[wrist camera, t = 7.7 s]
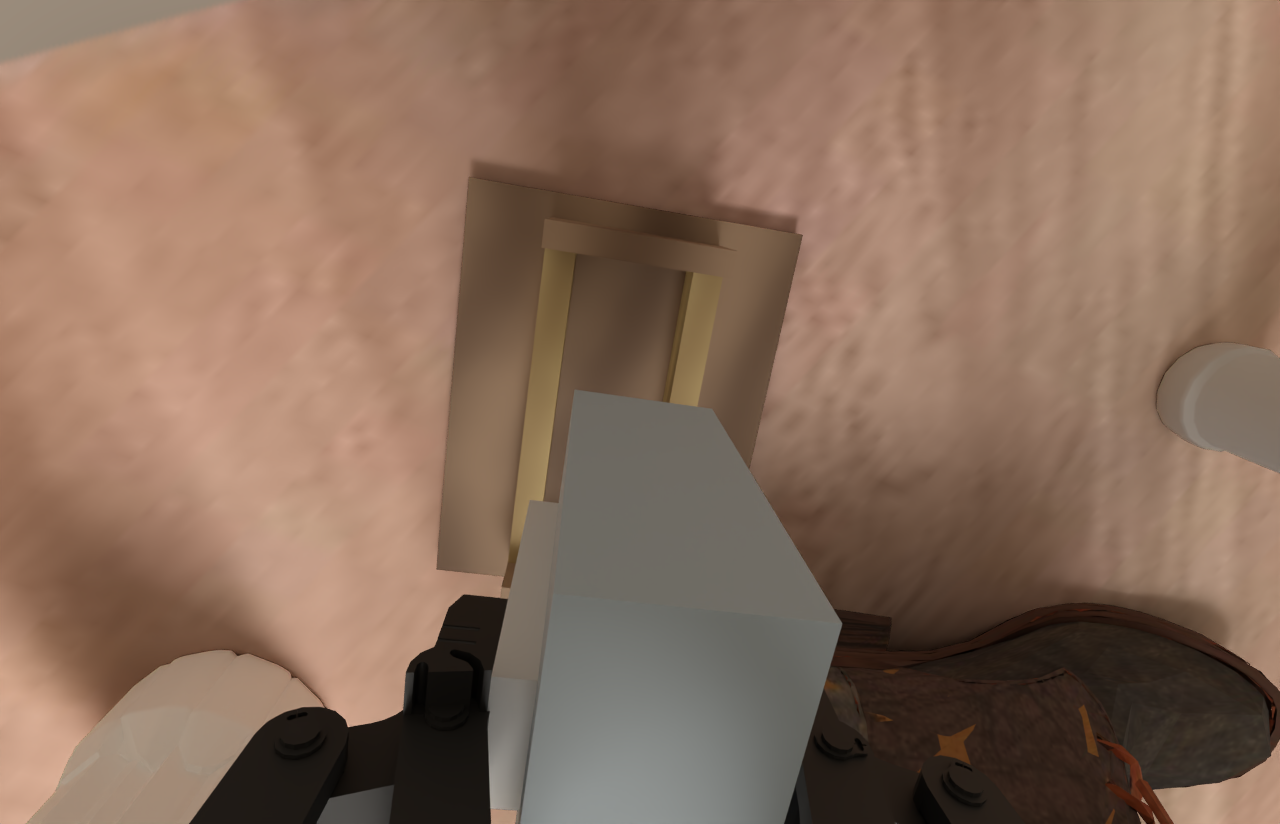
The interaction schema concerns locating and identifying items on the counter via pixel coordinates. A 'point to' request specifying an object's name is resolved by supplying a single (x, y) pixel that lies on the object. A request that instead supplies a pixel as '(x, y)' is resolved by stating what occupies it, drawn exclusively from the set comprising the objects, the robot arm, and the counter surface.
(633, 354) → the track sill
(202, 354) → the counter surface
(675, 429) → the light gray rectangular block
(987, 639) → the ankle boot
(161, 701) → the decorative vase
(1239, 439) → the bottle
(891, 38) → the counter surface
